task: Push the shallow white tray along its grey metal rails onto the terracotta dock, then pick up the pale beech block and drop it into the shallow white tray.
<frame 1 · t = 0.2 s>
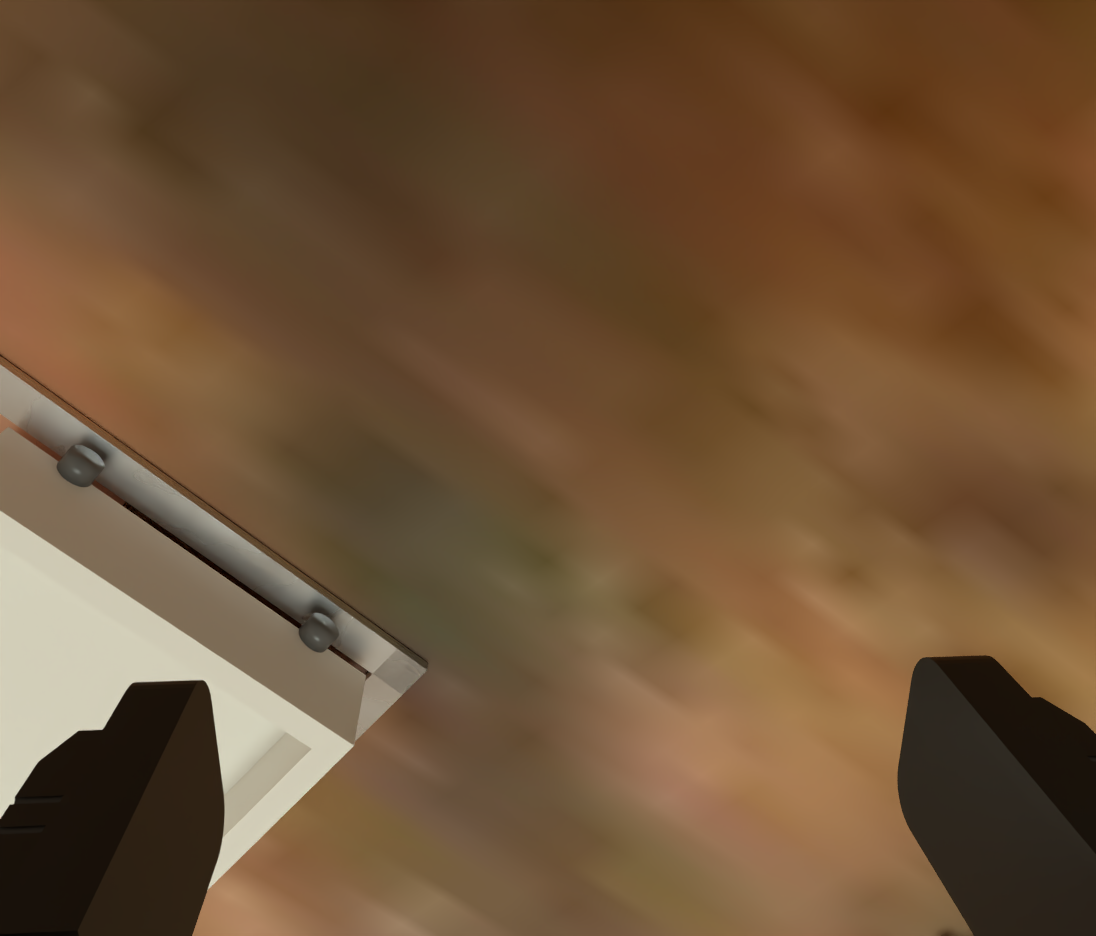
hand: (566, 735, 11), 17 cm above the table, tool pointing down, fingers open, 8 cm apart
shallow white tray: (59, 724, 28), point 3 cm above the table, slide at 0.0 cm
track: (92, 671, 30), on the table
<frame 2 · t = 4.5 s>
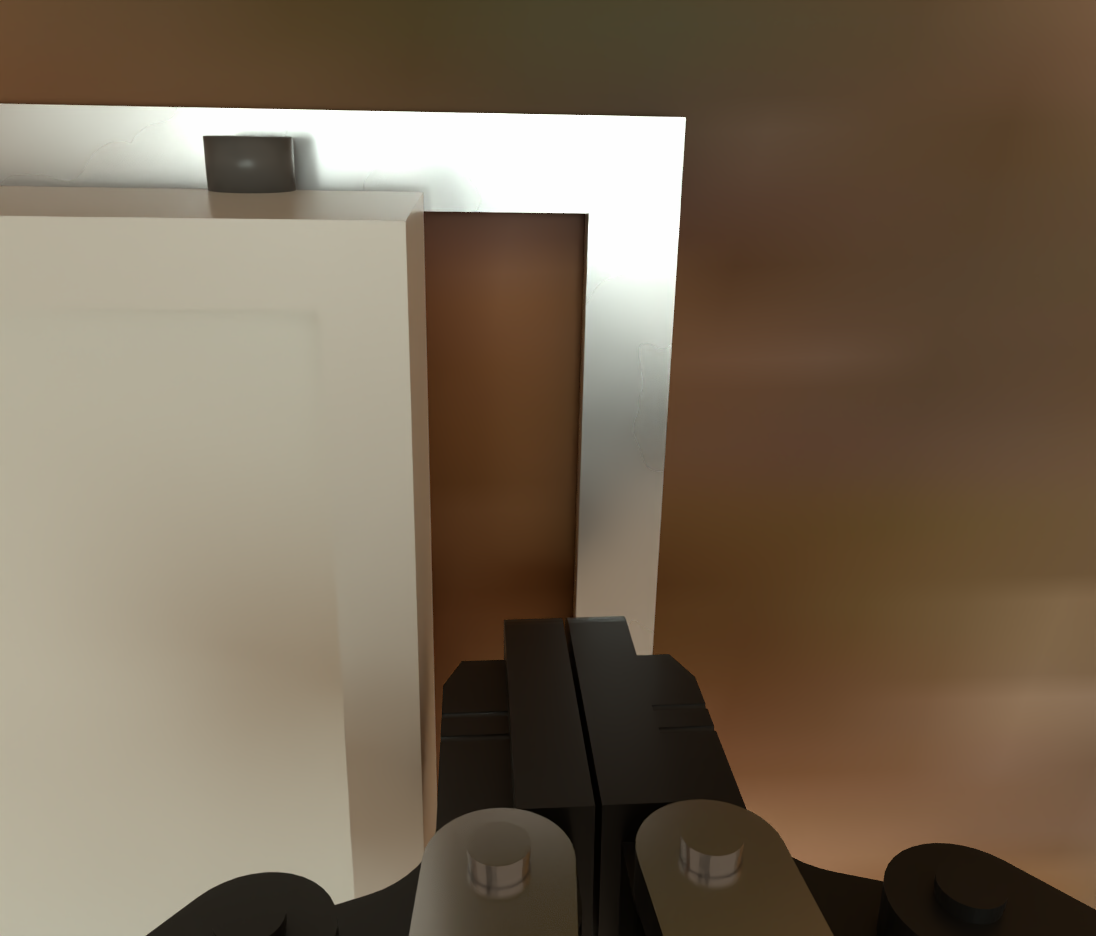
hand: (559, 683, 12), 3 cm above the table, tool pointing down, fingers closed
track: (145, 599, 15), on the table
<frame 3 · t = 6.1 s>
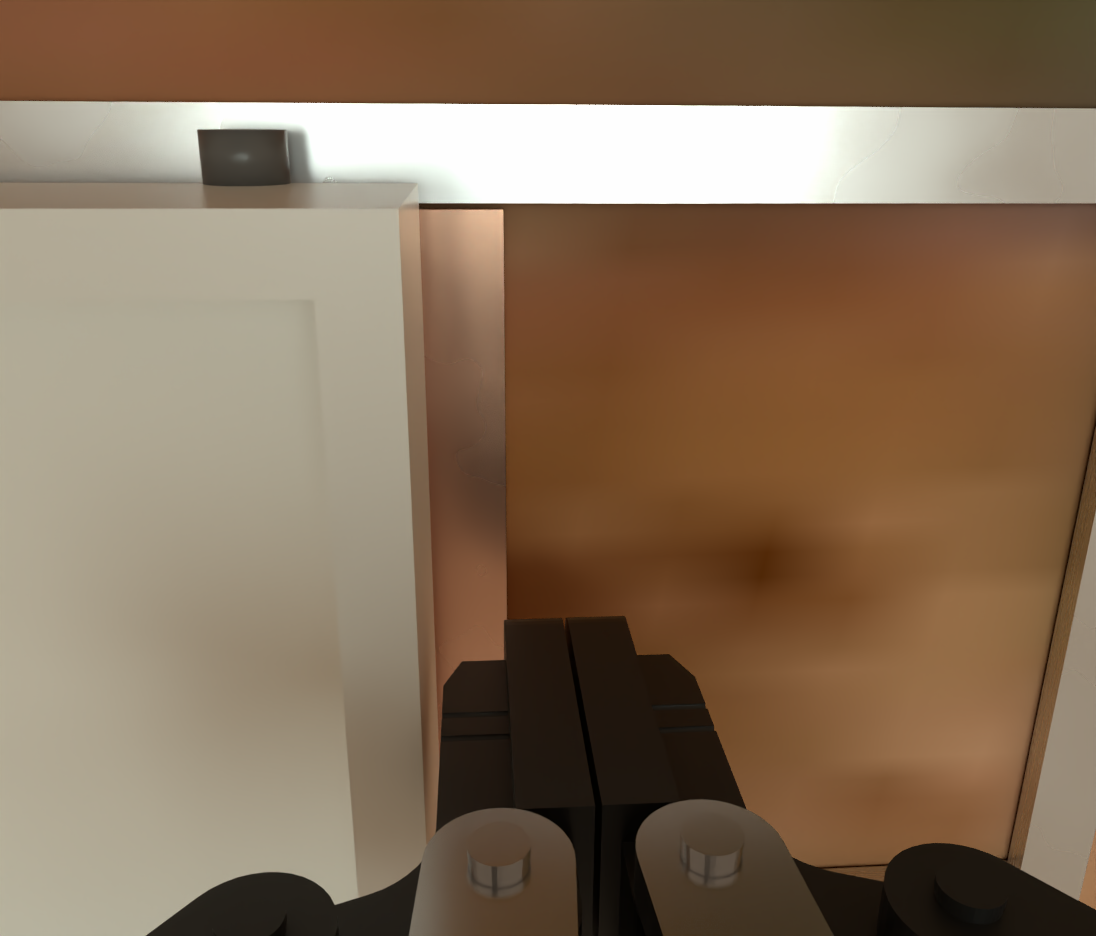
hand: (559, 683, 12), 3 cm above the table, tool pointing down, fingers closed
track: (668, 581, 15), on the table
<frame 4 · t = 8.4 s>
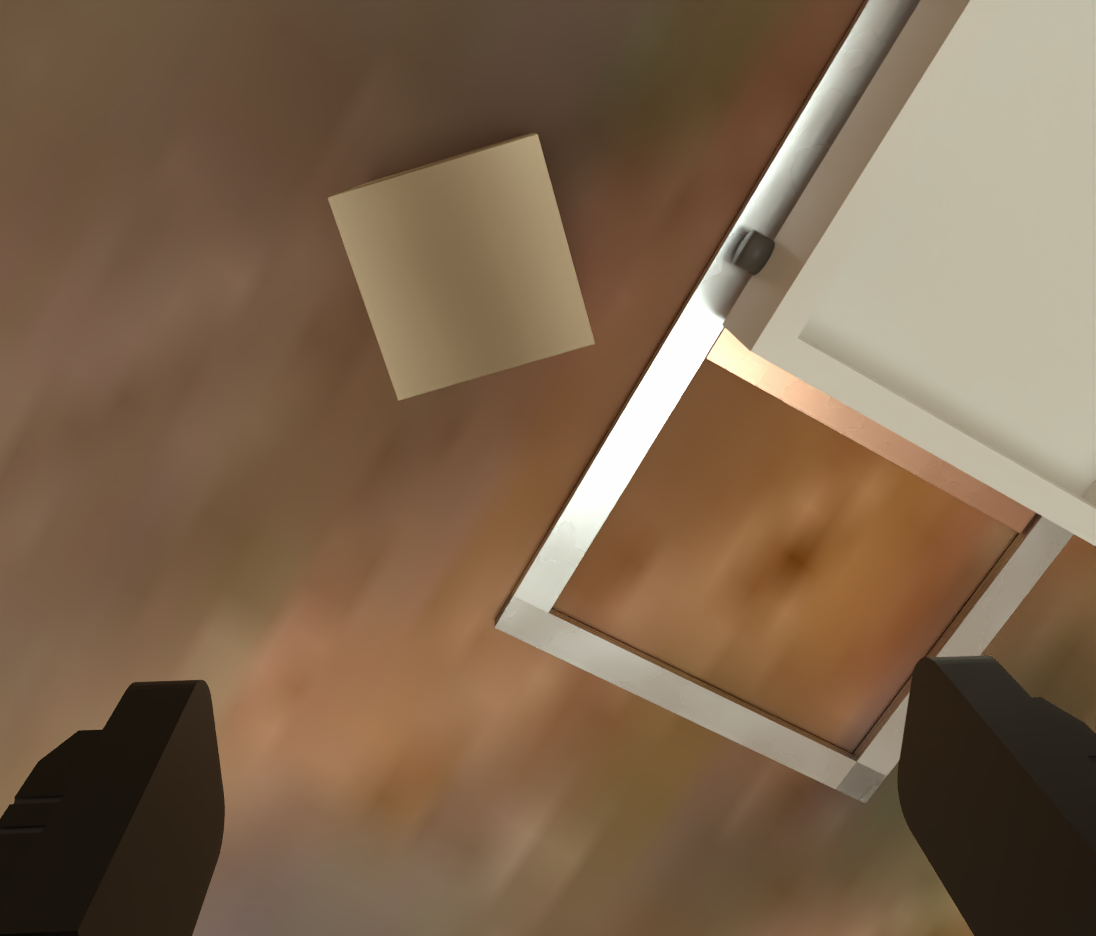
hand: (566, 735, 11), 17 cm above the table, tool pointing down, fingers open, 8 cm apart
shallow white tray: (1066, 240, 24), point 3 cm above the table, slide at 9.6 cm
block: (474, 241, 27), on the table
track: (818, 517, 29), on the table
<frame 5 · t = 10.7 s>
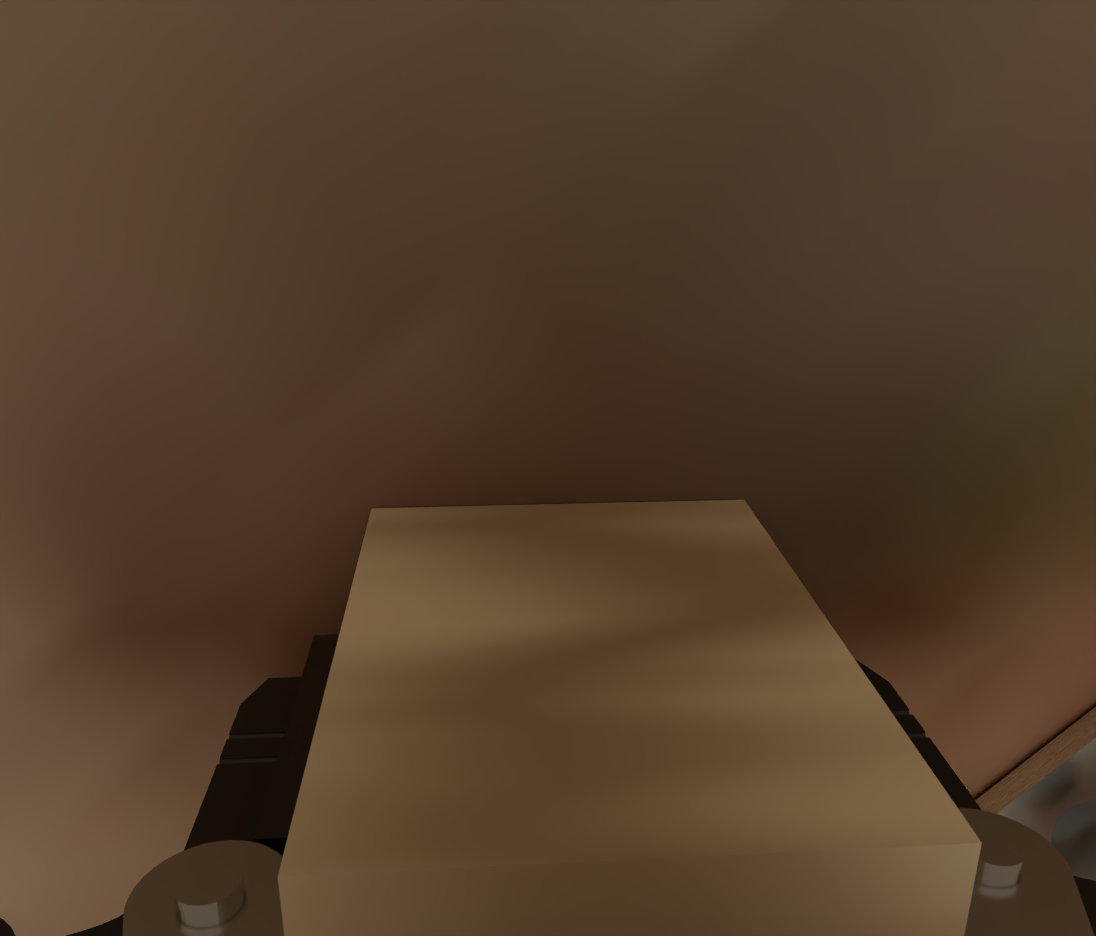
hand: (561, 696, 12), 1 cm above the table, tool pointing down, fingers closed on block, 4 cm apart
block: (558, 666, 13), on the table, touching gripper
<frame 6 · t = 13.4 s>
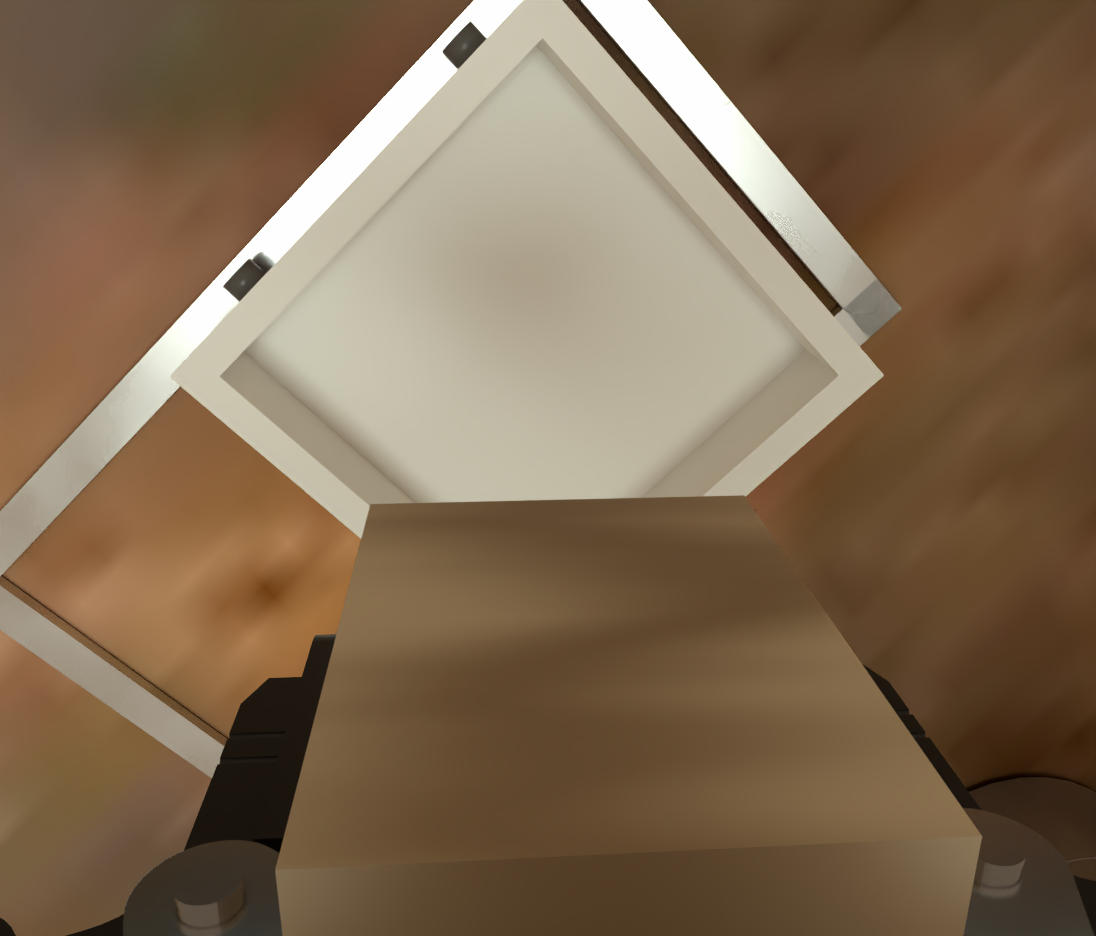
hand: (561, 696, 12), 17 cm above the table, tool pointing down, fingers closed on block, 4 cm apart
shallow white tray: (532, 356, 25), point 3 cm above the table, slide at 9.6 cm
block: (558, 663, 13), point 16 cm above the table, touching gripper
track: (296, 555, 29), on the table
when the fingers open (5 cm above the table, at t = 16.3 s): block drops 2 cm, resting on shallow white tray.
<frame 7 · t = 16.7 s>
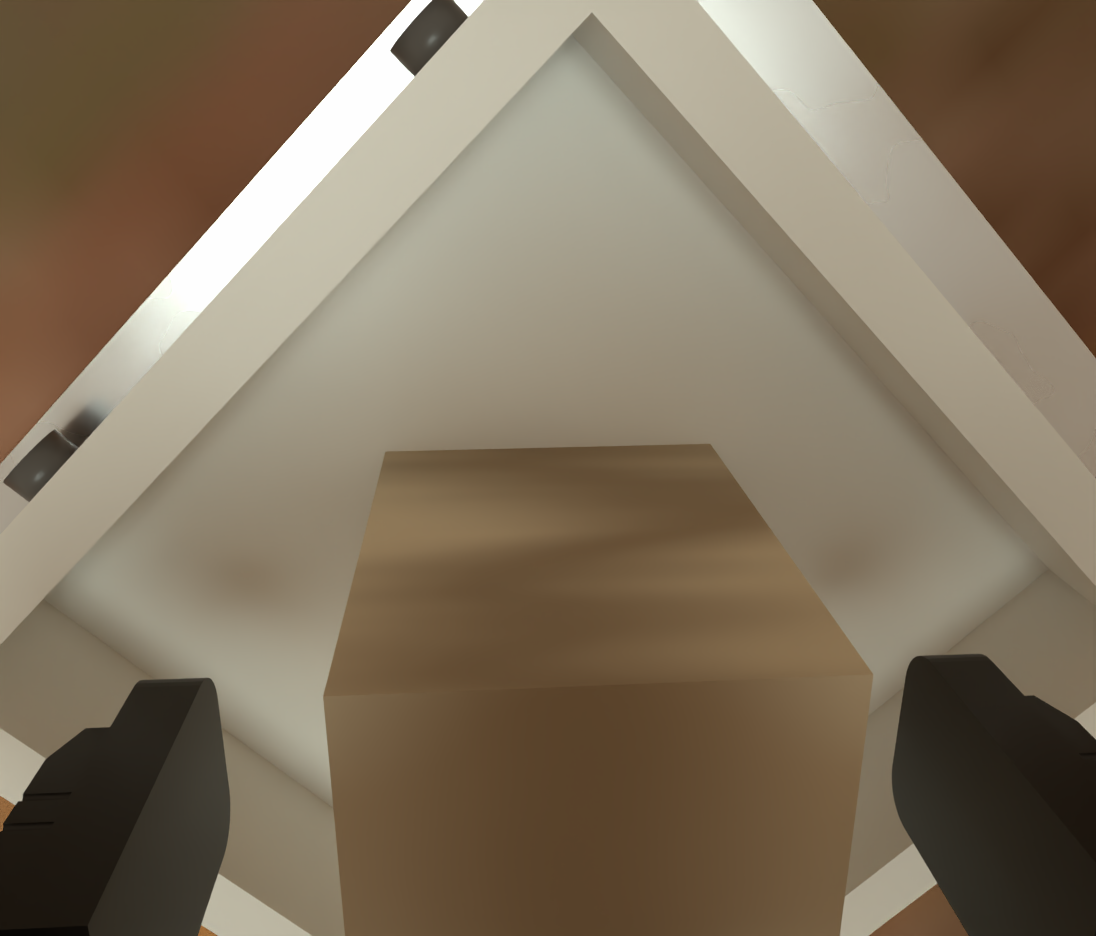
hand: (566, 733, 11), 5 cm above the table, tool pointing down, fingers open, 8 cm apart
shallow white tray: (566, 602, 14), point 3 cm above the table, slide at 9.6 cm, touching block
block: (549, 593, 14), point 2 cm above the table, touching shallow white tray
track: (180, 876, 18), on the table
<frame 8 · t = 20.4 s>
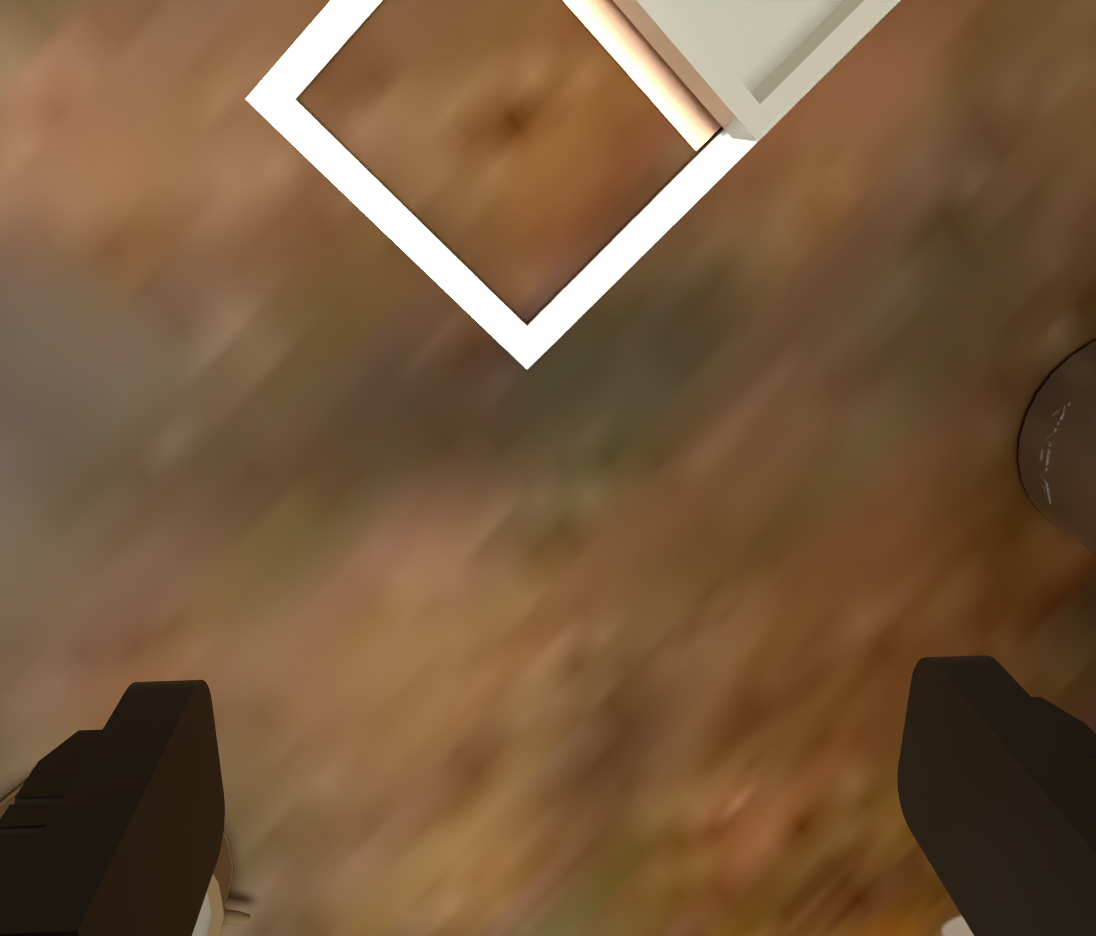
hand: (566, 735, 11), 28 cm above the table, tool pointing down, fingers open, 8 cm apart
track: (539, 86, 35), on the table
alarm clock: (76, 864, 46), on the table
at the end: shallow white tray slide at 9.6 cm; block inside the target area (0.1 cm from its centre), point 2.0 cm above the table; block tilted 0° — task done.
